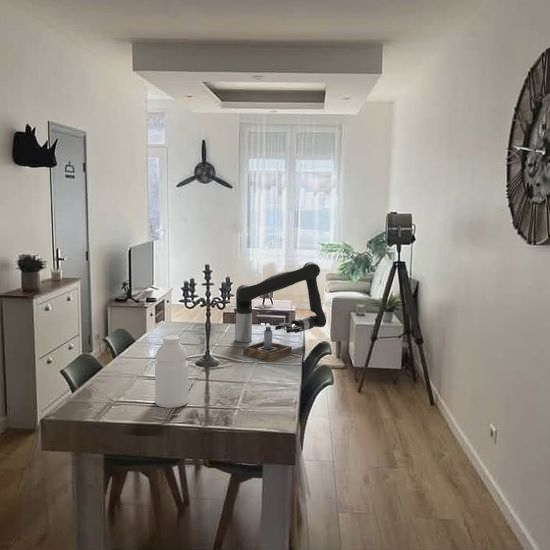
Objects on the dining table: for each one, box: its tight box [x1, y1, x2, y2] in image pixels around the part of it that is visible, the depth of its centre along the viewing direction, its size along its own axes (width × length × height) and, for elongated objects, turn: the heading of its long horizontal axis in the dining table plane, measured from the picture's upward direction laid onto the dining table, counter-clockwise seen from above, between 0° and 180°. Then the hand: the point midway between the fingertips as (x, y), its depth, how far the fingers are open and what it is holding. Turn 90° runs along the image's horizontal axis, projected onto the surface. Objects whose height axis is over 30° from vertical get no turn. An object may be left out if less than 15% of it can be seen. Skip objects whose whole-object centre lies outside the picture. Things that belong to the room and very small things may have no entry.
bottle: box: [154, 334, 190, 409], centre depth 225 cm, size 14×14×28 cm
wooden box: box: [242, 340, 293, 362], centre depth 298 cm, size 19×19×4 cm
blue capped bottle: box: [263, 326, 273, 351], centre depth 297 cm, size 4×4×14 cm
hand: (281, 329), depth 305 cm, fingers open, 8 cm apart
